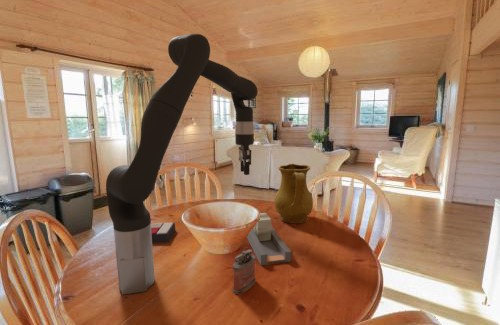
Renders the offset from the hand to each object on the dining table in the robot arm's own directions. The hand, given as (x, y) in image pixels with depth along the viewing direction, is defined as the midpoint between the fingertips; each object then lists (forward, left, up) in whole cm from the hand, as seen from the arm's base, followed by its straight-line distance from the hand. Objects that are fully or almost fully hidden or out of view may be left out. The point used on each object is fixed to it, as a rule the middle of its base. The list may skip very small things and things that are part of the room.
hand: (244, 172), depth 113 cm
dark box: (-3, +38, -23) cm, 44 cm away
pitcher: (+1, -22, -23) cm, 32 cm away
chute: (-19, -3, -23) cm, 30 cm away
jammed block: (-16, -3, -21) cm, 27 cm away
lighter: (-42, +9, -23) cm, 49 cm away
